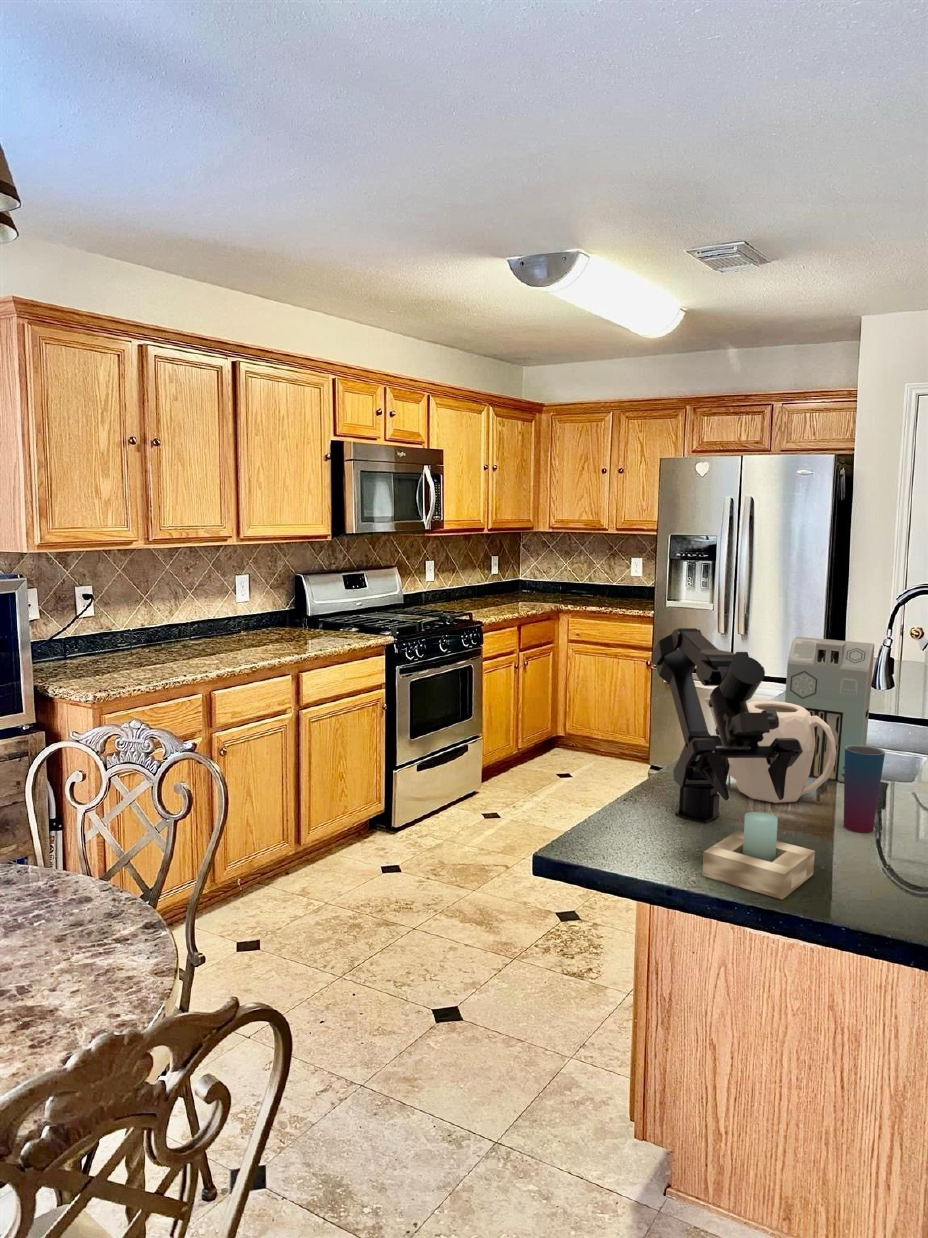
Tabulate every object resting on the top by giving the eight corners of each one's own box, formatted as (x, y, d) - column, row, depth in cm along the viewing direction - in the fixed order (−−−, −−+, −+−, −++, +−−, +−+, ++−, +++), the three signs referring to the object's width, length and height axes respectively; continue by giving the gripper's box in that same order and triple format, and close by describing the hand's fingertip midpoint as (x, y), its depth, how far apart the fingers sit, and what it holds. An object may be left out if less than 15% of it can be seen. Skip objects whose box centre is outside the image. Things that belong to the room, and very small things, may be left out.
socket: (702, 875, 146) (703, 851, 145) (736, 853, 155) (737, 830, 155) (782, 899, 137) (784, 874, 137) (813, 874, 147) (814, 850, 147)
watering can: (709, 774, 202) (715, 690, 199) (838, 796, 188) (845, 707, 186) (688, 792, 188) (693, 702, 186) (824, 818, 175) (832, 721, 172)
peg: (735, 867, 148) (738, 813, 147) (759, 863, 150) (762, 810, 149) (756, 879, 143) (759, 823, 142) (781, 874, 145) (784, 820, 144)
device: (779, 773, 204) (789, 640, 200) (786, 765, 210) (795, 636, 207) (859, 786, 196) (870, 648, 192) (863, 777, 202) (874, 643, 199)
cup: (882, 836, 165) (889, 756, 164) (842, 832, 167) (849, 753, 165) (873, 823, 172) (880, 746, 170) (835, 820, 173) (841, 743, 172)
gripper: (693, 690, 150) (714, 776, 141) (802, 691, 152) (829, 775, 143) (675, 725, 159) (693, 808, 150) (777, 725, 161) (802, 807, 151)
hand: (754, 799), depth 148 cm, fingers open, 9 cm apart
